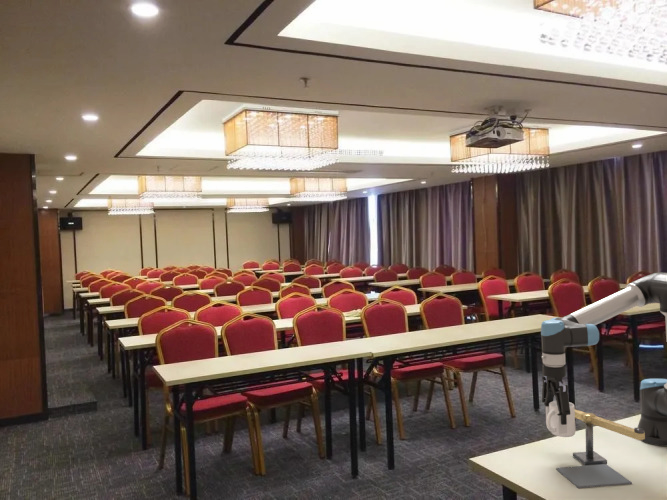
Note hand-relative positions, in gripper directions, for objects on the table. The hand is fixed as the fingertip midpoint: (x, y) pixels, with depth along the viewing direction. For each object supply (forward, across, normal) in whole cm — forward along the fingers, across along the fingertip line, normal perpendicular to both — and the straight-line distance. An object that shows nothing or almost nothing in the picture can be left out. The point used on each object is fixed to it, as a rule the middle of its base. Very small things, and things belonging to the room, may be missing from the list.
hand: (556, 428), depth 194 cm
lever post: (+12, +1, +11) cm, 17 cm away
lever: (-2, +2, +12) cm, 12 cm away
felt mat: (+12, +13, +5) cm, 18 cm away
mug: (+2, +1, +1) cm, 2 cm away
